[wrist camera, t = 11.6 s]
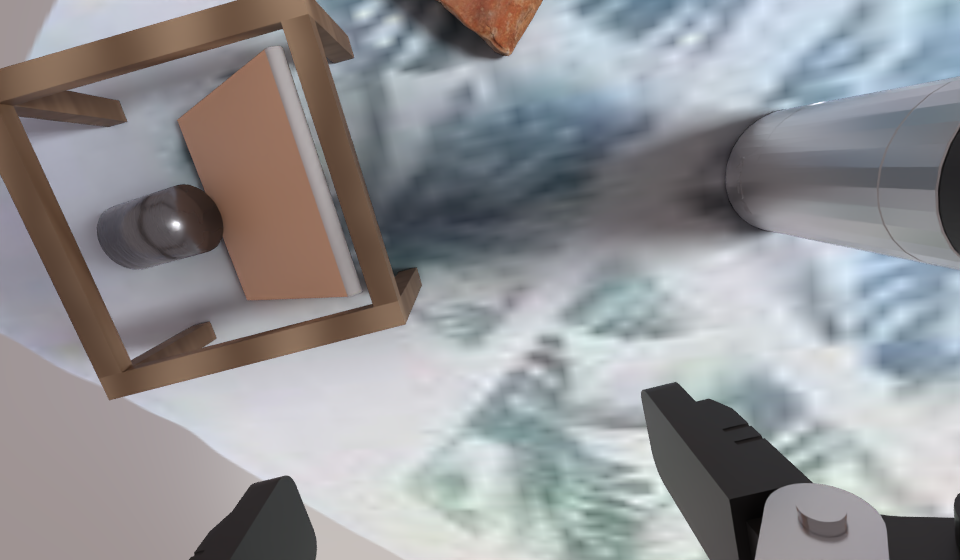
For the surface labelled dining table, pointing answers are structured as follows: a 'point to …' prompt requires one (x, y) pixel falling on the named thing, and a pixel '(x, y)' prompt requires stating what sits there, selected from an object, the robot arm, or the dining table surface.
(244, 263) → the trapdoor
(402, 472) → the dining table surface
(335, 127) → the trapdoor frame
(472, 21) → the reddish brown rock
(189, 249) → the cylinder
